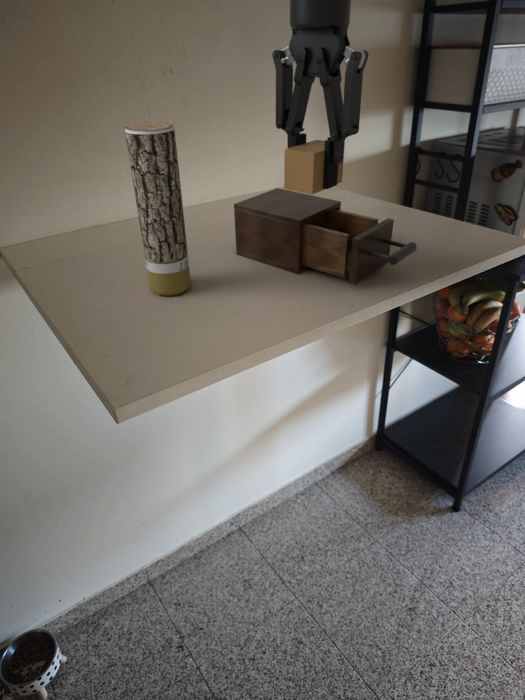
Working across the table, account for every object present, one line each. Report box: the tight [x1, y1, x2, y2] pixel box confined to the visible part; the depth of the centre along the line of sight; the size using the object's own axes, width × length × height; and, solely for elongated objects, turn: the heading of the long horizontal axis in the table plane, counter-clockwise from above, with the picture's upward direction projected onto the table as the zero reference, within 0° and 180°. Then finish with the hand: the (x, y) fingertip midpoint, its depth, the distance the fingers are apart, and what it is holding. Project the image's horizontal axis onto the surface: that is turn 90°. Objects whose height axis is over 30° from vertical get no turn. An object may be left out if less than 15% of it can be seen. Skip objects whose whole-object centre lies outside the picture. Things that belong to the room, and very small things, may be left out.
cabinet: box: [233, 187, 342, 275], centre depth 92 cm, size 15×13×10 cm
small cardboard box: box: [283, 139, 346, 195], centre depth 73 cm, size 8×5×6 cm, turn 142°
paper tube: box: [124, 121, 192, 297], centre depth 76 cm, size 7×7×25 cm
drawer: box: [301, 209, 418, 286], centre depth 84 cm, size 19×11×8 cm, turn 51°
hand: (313, 183), depth 74 cm, fingers closed on small cardboard box, 5 cm apart
